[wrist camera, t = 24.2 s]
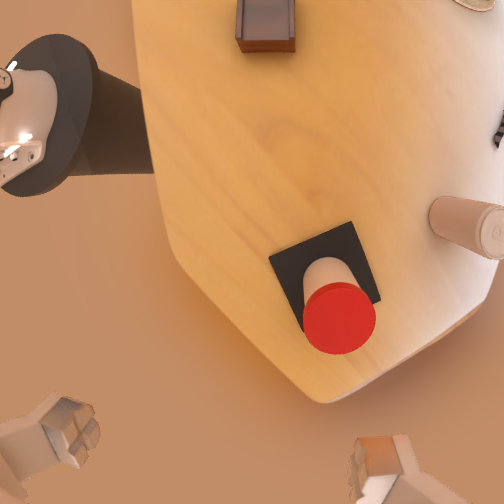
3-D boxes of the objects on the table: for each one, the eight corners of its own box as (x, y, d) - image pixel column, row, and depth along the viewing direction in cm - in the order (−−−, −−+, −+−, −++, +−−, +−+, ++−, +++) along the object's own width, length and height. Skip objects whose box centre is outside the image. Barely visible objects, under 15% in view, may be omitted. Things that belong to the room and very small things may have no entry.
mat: (303, 330, 38) (303, 332, 37) (268, 256, 36) (268, 257, 36) (380, 298, 36) (381, 300, 35) (350, 220, 34) (351, 221, 34)
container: (369, 355, 25) (381, 289, 24) (300, 353, 26) (306, 285, 25) (350, 307, 36) (356, 256, 35) (299, 304, 37) (303, 253, 35)
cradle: (295, 52, 31) (295, 37, 27) (241, 52, 32) (235, 38, 27) (294, -2, 29) (293, -20, 25) (244, -2, 30) (238, -19, 26)
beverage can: (431, 191, 32) (486, 199, 21) (464, 200, 32) (523, 213, 20) (423, 232, 33) (473, 256, 22) (456, 240, 33) (511, 266, 21)
